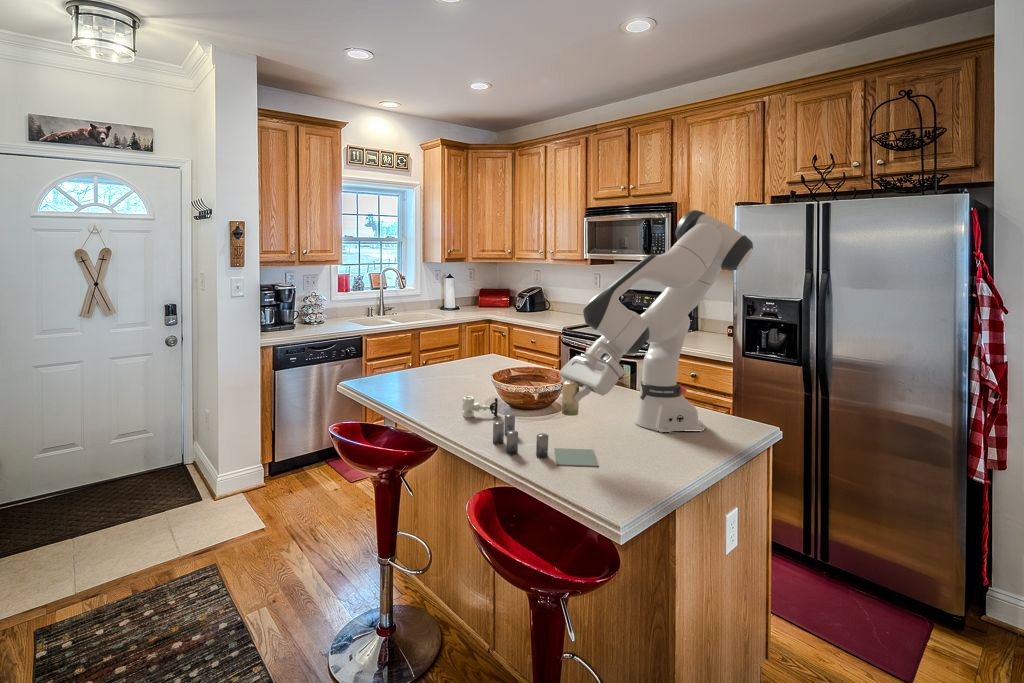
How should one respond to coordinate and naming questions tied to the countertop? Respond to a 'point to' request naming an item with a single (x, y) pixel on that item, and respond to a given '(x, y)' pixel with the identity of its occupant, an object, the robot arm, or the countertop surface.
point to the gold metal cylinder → (570, 398)
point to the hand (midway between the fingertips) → (569, 397)
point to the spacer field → (516, 437)
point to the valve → (477, 407)
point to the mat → (575, 457)
